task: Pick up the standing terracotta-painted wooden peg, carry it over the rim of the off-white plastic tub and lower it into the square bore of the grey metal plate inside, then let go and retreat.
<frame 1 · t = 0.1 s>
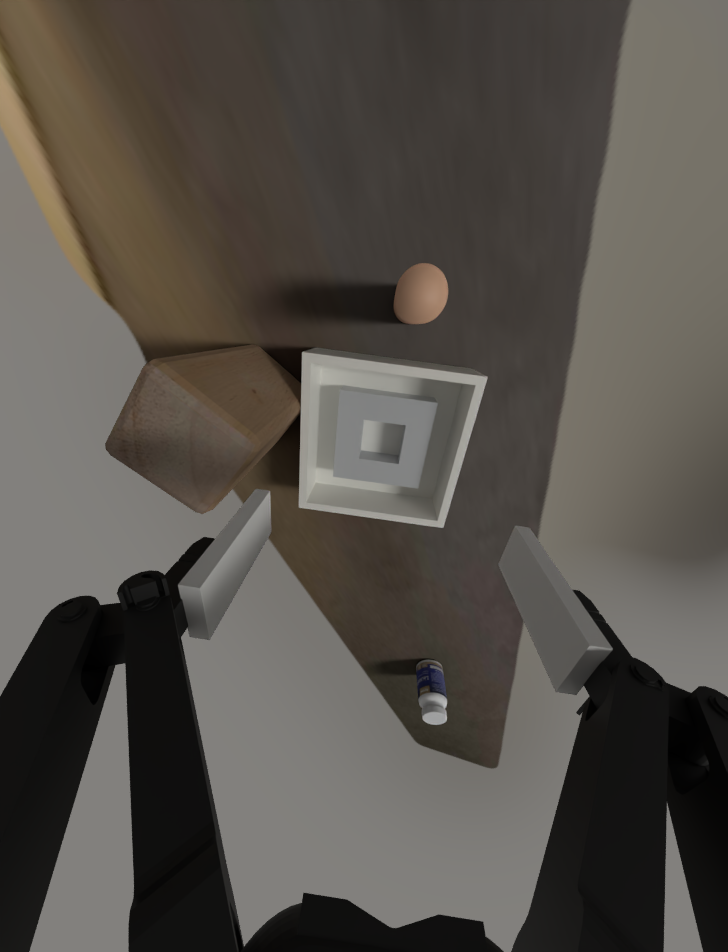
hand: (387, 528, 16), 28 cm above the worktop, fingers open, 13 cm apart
wooden block: (267, 395, 42), on the worktop
peg: (410, 305, 35), on the worktop
pill bottle: (428, 665, 66), on the worktop
tub: (382, 432, 43), on the worktop
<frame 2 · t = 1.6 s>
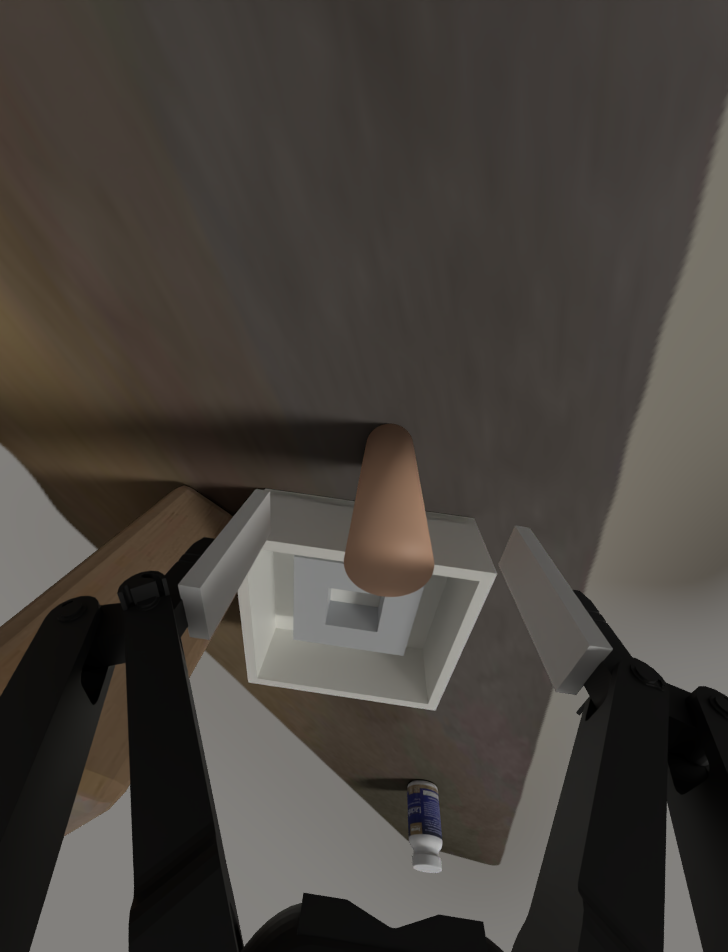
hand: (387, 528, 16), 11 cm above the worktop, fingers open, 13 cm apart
wooden block: (207, 535, 32), on the worktop
peg: (389, 446, 26), on the worktop
pill bottle: (421, 783, 58), on the worktop
tub: (357, 578, 33), on the worktop
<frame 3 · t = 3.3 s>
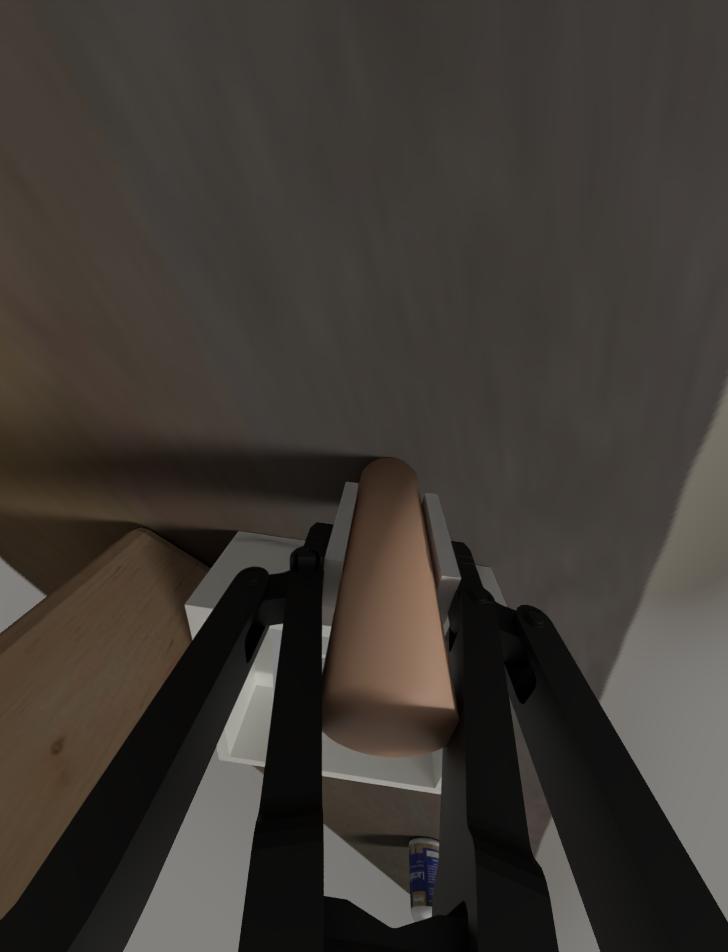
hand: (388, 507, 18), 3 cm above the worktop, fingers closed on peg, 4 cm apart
wooden block: (173, 581, 27), on the worktop
peg: (388, 484, 21), on the worktop, touching gripper
pill bottle: (425, 840, 52), on the worktop
tub: (351, 631, 28), on the worktop
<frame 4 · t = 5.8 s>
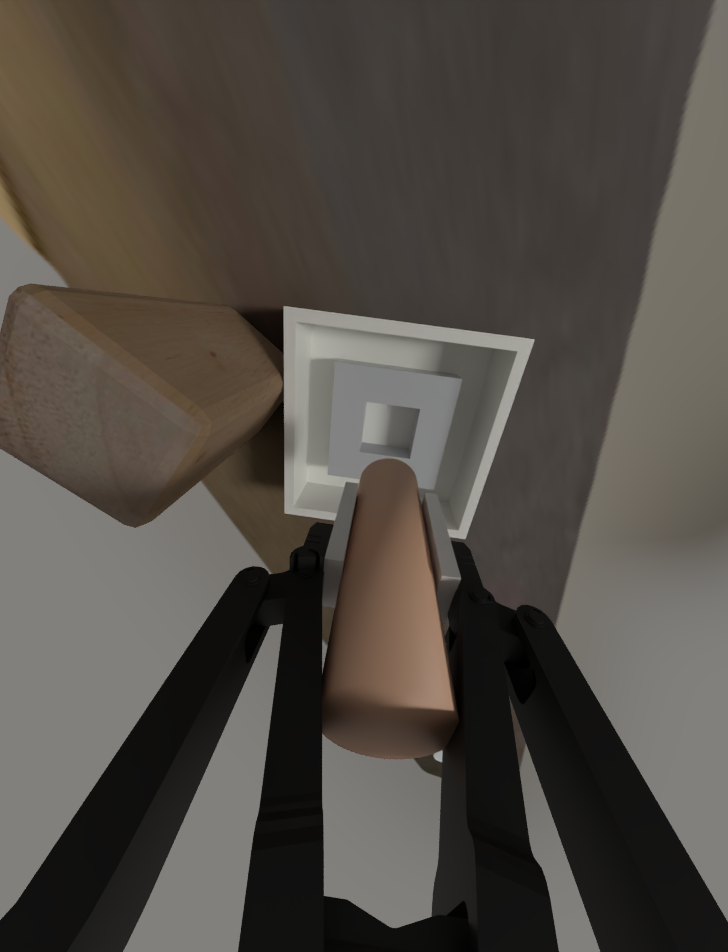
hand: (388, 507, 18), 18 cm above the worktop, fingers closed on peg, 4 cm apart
wooden block: (245, 373, 34), on the worktop
peg: (388, 484, 21), point 15 cm above the worktop, touching gripper
tub: (388, 419, 34), on the worktop
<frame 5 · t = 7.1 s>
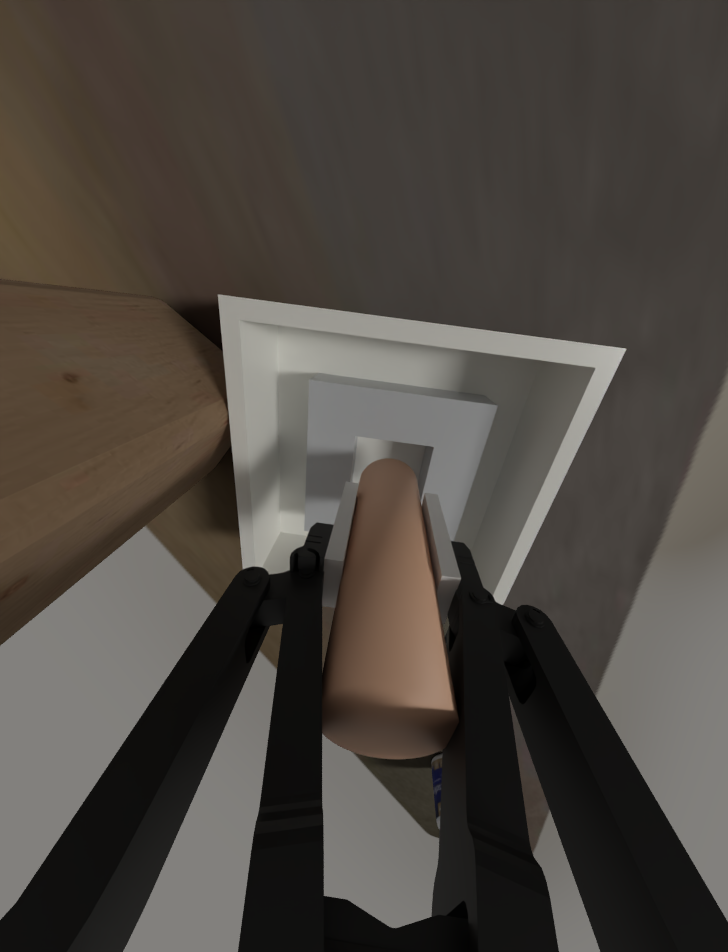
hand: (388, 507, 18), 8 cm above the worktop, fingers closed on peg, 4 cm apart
wooden block: (192, 392, 24), on the worktop
peg: (388, 484, 21), point 5 cm above the worktop, touching gripper
pill bottle: (448, 758, 49), on the worktop
tub: (388, 453, 25), on the worktop
when the fingers open (6 cm above the worktop, at t = 8.1 s): peg stays where it is, resting on tub.
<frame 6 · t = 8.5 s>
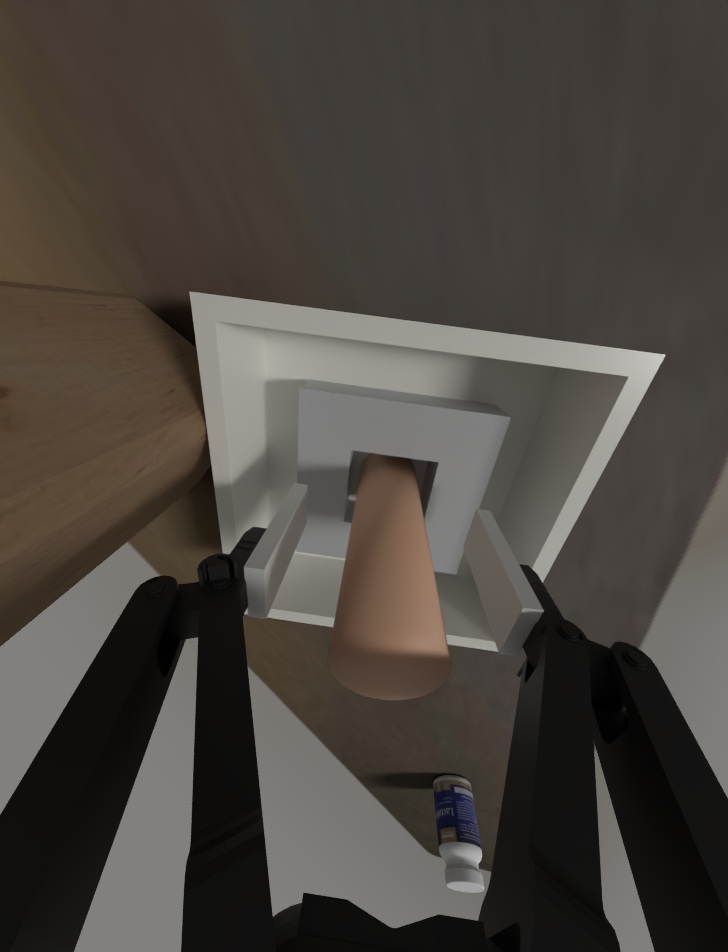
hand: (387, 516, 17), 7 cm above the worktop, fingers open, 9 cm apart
wooden block: (173, 399, 22), on the worktop
peg: (387, 473, 22), point 1 cm above the worktop, touching tub
pill bottle: (450, 779, 47), on the worktop
tub: (388, 466, 23), on the worktop
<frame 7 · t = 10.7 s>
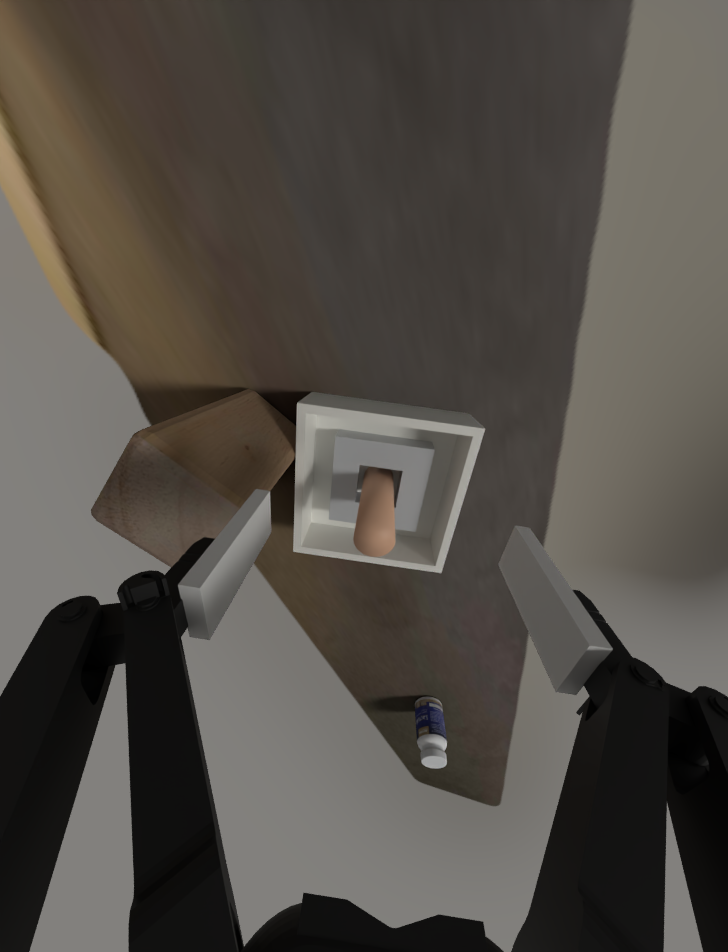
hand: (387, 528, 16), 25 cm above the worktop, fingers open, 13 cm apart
wooden block: (262, 437, 41), on the worktop
peg: (378, 477, 41), point 1 cm above the worktop, touching tub
pill bottle: (427, 702, 64), on the worktop
tub: (379, 473, 42), on the worktop
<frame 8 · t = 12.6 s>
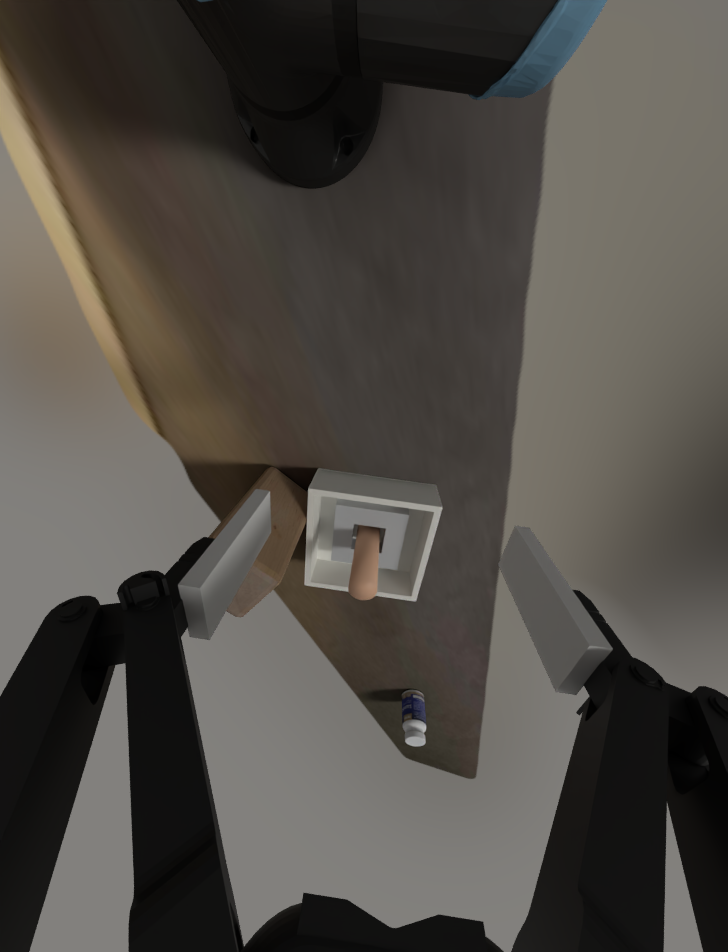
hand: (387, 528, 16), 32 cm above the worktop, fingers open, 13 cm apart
wooden block: (280, 497, 54), on the worktop
peg: (368, 528, 54), point 1 cm above the worktop, touching tub
pill bottle: (412, 693, 79), on the worktop
tub: (369, 524, 55), on the worktop
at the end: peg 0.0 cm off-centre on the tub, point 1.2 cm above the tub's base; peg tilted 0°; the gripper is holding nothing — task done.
